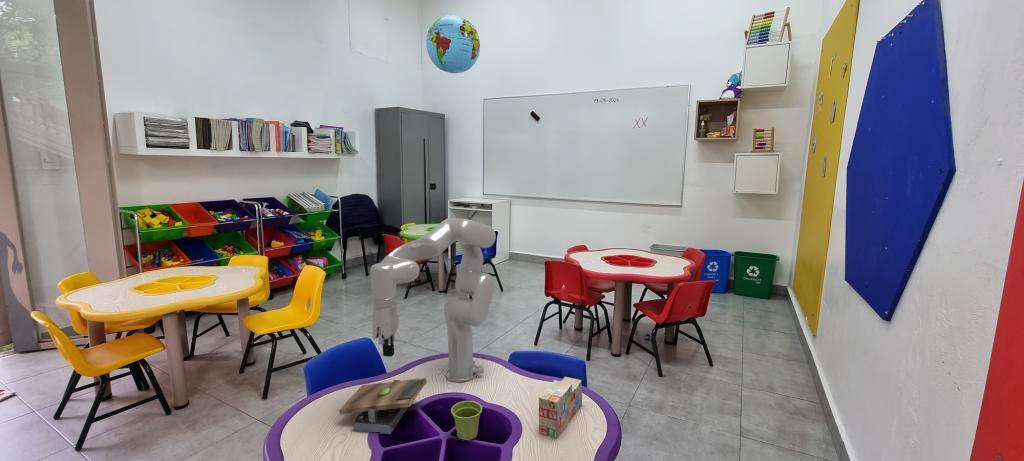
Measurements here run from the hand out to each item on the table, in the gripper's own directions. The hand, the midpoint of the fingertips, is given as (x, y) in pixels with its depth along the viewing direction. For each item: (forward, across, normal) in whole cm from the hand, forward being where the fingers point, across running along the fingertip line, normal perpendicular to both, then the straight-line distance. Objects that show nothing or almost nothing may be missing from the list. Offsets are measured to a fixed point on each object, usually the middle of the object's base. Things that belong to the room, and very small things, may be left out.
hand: (388, 355), depth 146 cm
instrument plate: (+15, 0, -2) cm, 15 cm away
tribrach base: (+21, 0, -2) cm, 21 cm away
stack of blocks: (+22, -5, +56) cm, 60 cm away
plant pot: (+21, +8, +28) cm, 36 cm away
